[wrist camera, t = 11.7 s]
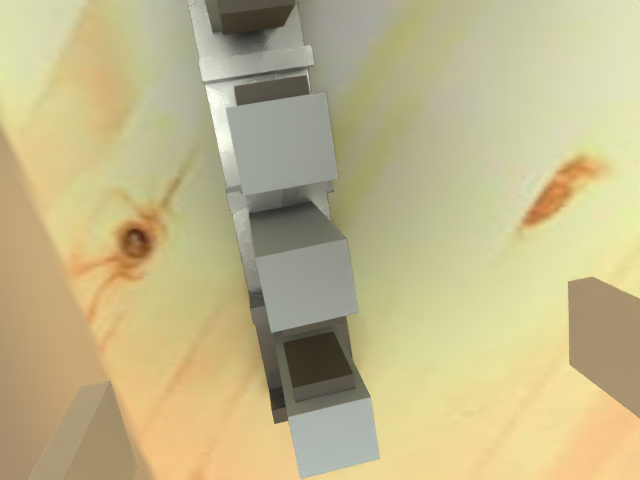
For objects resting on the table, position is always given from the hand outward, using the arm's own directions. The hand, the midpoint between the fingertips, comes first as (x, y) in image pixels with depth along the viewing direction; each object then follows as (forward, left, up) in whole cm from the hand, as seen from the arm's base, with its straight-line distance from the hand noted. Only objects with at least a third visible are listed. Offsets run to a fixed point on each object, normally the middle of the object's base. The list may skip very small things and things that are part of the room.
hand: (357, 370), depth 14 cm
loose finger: (0, 0, -18) cm, 18 cm away
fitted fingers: (-3, 0, -18) cm, 18 cm away
